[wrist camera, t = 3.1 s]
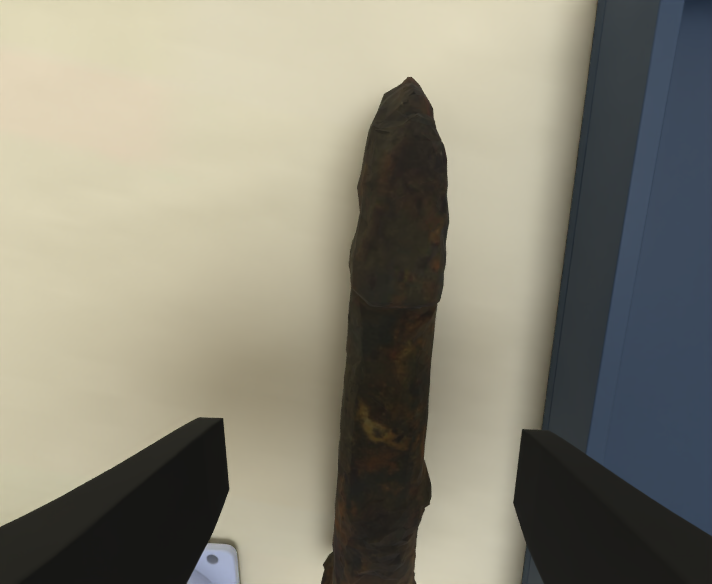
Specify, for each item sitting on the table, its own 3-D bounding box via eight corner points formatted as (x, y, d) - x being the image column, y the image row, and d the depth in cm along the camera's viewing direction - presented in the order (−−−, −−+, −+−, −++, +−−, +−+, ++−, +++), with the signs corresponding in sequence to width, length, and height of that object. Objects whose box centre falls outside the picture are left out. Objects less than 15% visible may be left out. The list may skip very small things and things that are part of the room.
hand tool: (414, 559, 17) (428, 689, 12) (326, 549, 17) (308, 674, 12) (484, 108, 13) (547, 52, 8) (367, 98, 13) (362, 37, 8)
